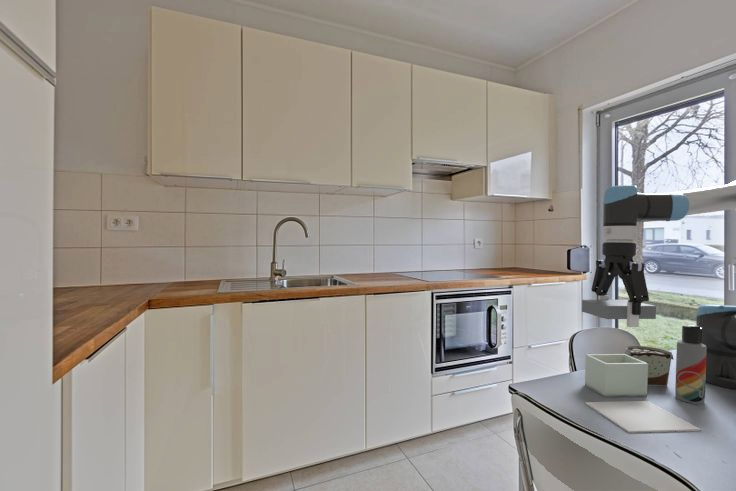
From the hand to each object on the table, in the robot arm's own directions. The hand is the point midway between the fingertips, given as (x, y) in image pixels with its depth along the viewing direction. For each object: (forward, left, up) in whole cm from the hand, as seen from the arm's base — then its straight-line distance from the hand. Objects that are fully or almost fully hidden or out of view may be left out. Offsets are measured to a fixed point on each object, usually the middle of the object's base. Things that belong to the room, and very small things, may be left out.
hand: (617, 321), depth 94 cm
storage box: (0, 0, -19) cm, 19 cm away
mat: (+6, +13, -19) cm, 24 cm away
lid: (0, 0, +2) cm, 2 cm away
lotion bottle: (-16, +6, -20) cm, 26 cm away
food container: (-14, -6, -20) cm, 25 cm away
